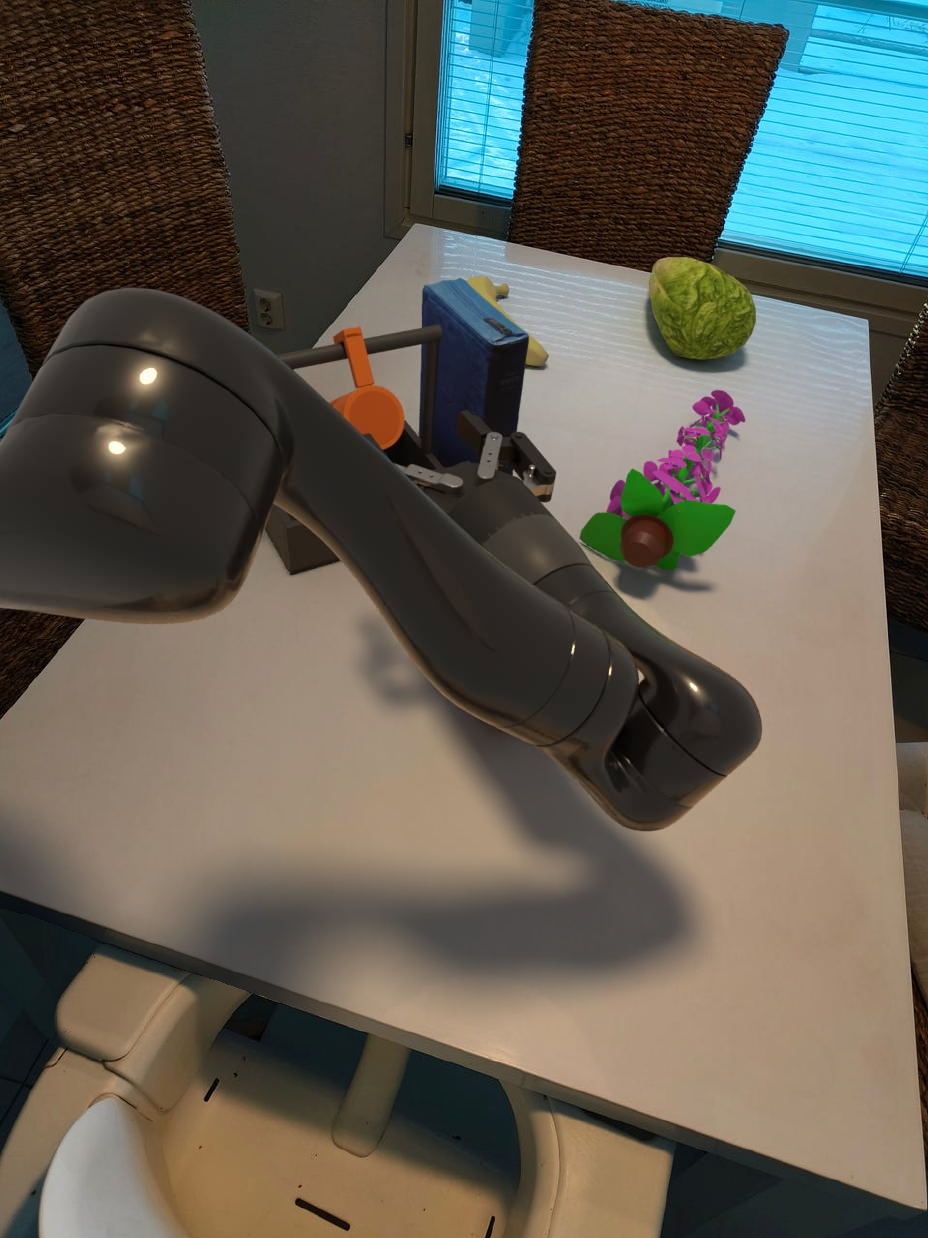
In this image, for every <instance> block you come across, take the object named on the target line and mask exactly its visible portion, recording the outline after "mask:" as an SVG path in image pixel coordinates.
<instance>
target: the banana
mask: <svg viewBox="0 0 928 1238" xmlns="http://www.w3.org/2000/svg"><path fill="white" fill-rule="evenodd" d="M465 281H466V282H467V283H468V284H469V285H470V286H471V287H472V288H473V289H474V290H476V291H477V292H478V293H479V294H480V295H481V296H482V297H483V298H485V299H486V300H487V301H488V302H489V303H490V304H492V305H493V306H494V307H495V308H496V309H498V310H499V311H500V312H501V313H502V314H503V315H504V316H505V317H507V318H508V319H509V320H510V321H512V322H513V323H514V324H516V325H517V326H518V327H520V328H521V329H523V328H522V327H521V326H520V325H519V324H517V322H515V321H514V319H513V318H511V317H510V315H508V313H506V311H504V309H503V308H502V307H501V306H500V305H499V304H498V301H497V296H501V297H507V296H508V295H509V293H510V287H509V285H508V284H507V283H503V284H501V285H497V286H496V285H494V283H493V281H492V280H491V278H489V277H488V276H486V275H485V276H484V275H482V276H471V277H468V278H467V279H465ZM523 330H524V331H525V332H526V333H527V334H528V335H529V345H528V350H527V356H526V363H525V365H528V366H535V367H537V366H538V367H543V366H545V364H546V363H547V361H548V359H549V358H550V357H549V356H550V355H549V353H548V352H547V351H546V349H545V348H544V347H543V346H542V344H541V343H539V342H538V341H537V340H536V339H535V338H534V337H533V336H532V335H530V333H528V332H527V331H526V330H525V329H523Z"/></svg>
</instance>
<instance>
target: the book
mask: <svg viewBox="0 0 928 1238" xmlns="http://www.w3.org/2000/svg"><path fill="white" fill-rule="evenodd" d="M421 294H422V295H421V299H422V300H421V328H423V327H428V326H434V325H440V327H441V329H442V332H443V338H442V340H441V341H440V345H439V359H438V373H437V388H436V402H435V417H434V431H433V445H432V454H433V455H434V456H435V457H436V459H437V460H438V461H439V462H440V463H441V465H442V466H443V467H444V468H445V467H453V466H455V465H457V464H459V463H461V462H465V461H470V462H471V463H478V464H480V461H481V458H478V457H477V456H476V455H475V454H474V452H473V451H472V450H471V449H470V448H469V447H468V445H467V444H466V443H465V442H464V441H463V440H462V439H461V437H460V436H459V435H458V432H457V421H458V413H459V412H462V411H466V410H468V411H469V412H470V413H471V414H472V415H476V416H478V417H480V418H481V419H482V420H483V422H484V423H485V424H486V425H487V426H488V427H489V428H490V429H491V430H492V431H493V432H497V433H499V434H501V435H502V437H511V434H512V433H513V432H518V425H519V419H520V409H521V402H522V394H523V390H524V389H523V387H524V378H525V371H526V364H525V363H526V356H527V350H528V345H529V335H530V334H529V333H528V332H527V331H526V330H525V329H524V328H522V327H521V326H520V327H521V328H522V329H521V328H520V327H518V326H517V325H518V324H517V323H516V324H517V325H516V324H514V323H513V322H512V321H510V320H509V319H508V318H507V317H505V316H504V315H503V314H502V313H501V312H500V311H499V310H498V309H496V308H495V307H494V306H493V305H492V304H490V303H489V302H488V301H487V300H486V299H485V298H483V297H482V296H481V295H480V294H479V293H478V292H477V291H476V290H474V289H473V288H472V287H471V286H470V285H469V284H468V283H467V282H466V279H465V278H462V277H458V278H456V279H446V280H445V279H443V280H440V281H437V282H434V283H429V284H427V283H426V284H424V285H423V287H422V292H421ZM524 330H525V331H526V332H527V333H528V334H529V335H528V334H527V333H526V332H525V331H524ZM426 344H427V343H426ZM426 344H420V346H421V347H420V377H419V378H420V382H419V413H418V414H419V415H418V436H419V438H420V439H421V432H422V414H423V397H424V379H425V362H426ZM497 470H499V471H502V472H504V473H507V474H510V475H513V476H514V470H513V468H512V467H511V466H510V465H509V463H508V462H507V461H499V465H498V469H497Z"/></svg>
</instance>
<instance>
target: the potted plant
mask: <svg viewBox="0 0 928 1238" xmlns="http://www.w3.org/2000/svg"><path fill="white" fill-rule="evenodd" d="M734 404H735V403H734V399H733V398H732V396H731V395H730V394H729V393H728V392H727V391H724V390H722V389H715V390H712V391H711V392H710V396H703V397H702V398H700V400H699V401H698V400H697V402H695V403H694V404H692V410H693V411H694V412H695V413H696V414H697V415H698V416H700V417H701V418H699V419H697V420H696V421H695V422H693V423H692V424H691V425H690V426H689V427H684V425H681V426H680V428H679V430H678V432H677V437H676V443H677V444H678V446H679V447H681V449H673V450H672V449H668V453H667V454H668V457H661V458H659V459H657V460H656V461H657V462H660V463H661V464H660V465H659V466H658V465H657V463H656V462H654V461H652V460H647V461H645V462H644V463H643V468H642V472H643V473H642V472H640V471H638V470H636V469H635V468H631V469H630V471H629V472H628V473H627V475H626V479H625V481H624V480H623V479H619V480H617V481H616V482H615V484H614V485H613V487H612V489H611V491H610V494H609V501H610V502H609V503H608V505H607V508H606V512H603V511H602V512H596V513H594V514H593V515H592V516H591V517H590V518H589V520H588V521H587V522H586V523H585V525H584V526H583V527H582V529H581V530H580V534H579V540H580V541H581V542H582V543H583V544H584V545H585V546H587V547H589V548H590V549H592V550H594V551H597V552H598V553H599V554H601V555H603V556H605V557H607V558H608V559H610V560H613V561H617V562H620V563H624V562H627V563H628V564H629V565H631V566H632V567H634V568H641V569H642V568H651V567H653V566H654V567H656V568H659V569H661V570H663V571H667V572H668V571H669V572H674V571H675V570H676V569H677V568H678V563H679V560H680V557H681V555H682V557H683V556H684V557H695V556H698V555H701V554H703V553H705V552H707V551H708V550H710V548H712V547H713V545H714V544H715V543H716V542H717V541H718V539H719V538H720V537H721V536H722V535H723V534H724V532H725V531H726V530H727V529H728V528H729V526H730V525H731V523H732V521H733V519H734V516H735V513H736V511H737V510H736V509H734V508H733V507H731V506H729V505H727V504H722V503H721V504H719V503H715V502H716V500H718V497H719V495H720V493H721V490H722V489H721V487H720V486H716V487H714V483H713V482H712V481H711V477H710V476H711V472H712V469H713V464H712V462H713V460H714V451H713V450H717V449H718V451H719V452H718V453H719V455H718V457H719V461H721V459H722V455H723V444H724V443H725V442H726V440H727V437H728V436H725V435H727V433H728V432H729V430H730V425H731V426H737V425H739V424H740V423H746V417H745V414H744V413H743V411H742V409H741V408H740V407H738V406H734ZM700 422H701V426H702V427H701V426H700V425H698V423H700ZM707 423H708V425H707ZM694 426H696V427H694ZM710 438H711V439H710ZM709 439H710V440H709ZM713 441H714V442H715V443H716V445H715V446H712V447H709V445H710V444H711V443H712V442H713ZM683 444H684V445H683ZM700 453H701V455H702V457H701V455H700ZM684 457H685V458H684ZM703 460H704V462H705V463H706V467H705V465H704V464H703V463H702V461H703ZM689 475H694V477H693V478H691V479H688V480H685V479H686V478H687V477H688V476H689ZM701 476H702V477H701ZM655 481H657V482H655ZM653 482H655V483H653ZM662 483H663V484H662ZM690 483H695V486H696V489H697V490H696V489H693V488H688V487H687V486H686V485H684V484H690ZM664 484H665V485H666V486H667V487H668V488H667V489H666V488H665V486H664ZM713 487H714V488H713ZM697 498H698V499H699V500H698V499H697Z"/></svg>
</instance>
